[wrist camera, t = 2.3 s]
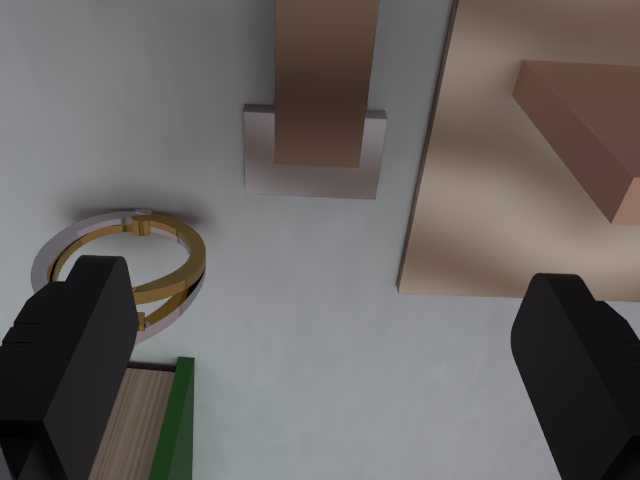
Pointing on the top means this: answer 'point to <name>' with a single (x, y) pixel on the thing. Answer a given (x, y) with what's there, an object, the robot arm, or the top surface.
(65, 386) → the robot arm
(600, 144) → the tile
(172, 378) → the hardback book
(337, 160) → the brown rectangular block
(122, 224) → the ring
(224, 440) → the top surface
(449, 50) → the board
